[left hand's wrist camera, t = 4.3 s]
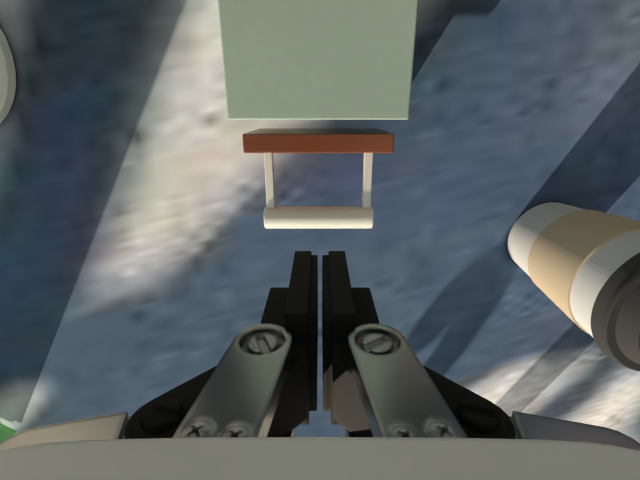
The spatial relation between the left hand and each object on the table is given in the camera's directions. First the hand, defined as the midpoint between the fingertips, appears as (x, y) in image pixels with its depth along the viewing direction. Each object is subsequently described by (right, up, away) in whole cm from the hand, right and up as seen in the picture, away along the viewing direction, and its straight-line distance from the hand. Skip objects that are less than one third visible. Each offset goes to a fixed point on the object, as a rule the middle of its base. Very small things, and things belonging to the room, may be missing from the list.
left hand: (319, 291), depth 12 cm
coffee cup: (+21, +2, +22) cm, 30 cm away
